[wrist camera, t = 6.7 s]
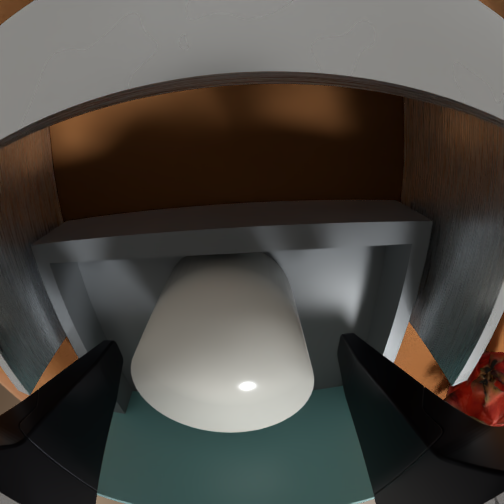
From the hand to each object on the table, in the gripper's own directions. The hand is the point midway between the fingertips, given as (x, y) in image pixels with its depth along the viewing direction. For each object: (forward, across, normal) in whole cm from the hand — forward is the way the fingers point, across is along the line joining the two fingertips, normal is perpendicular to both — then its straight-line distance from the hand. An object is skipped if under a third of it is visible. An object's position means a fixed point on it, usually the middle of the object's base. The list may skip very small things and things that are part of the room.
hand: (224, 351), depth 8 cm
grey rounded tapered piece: (+3, 0, 0) cm, 3 cm away
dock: (+4, 0, -5) cm, 6 cm away
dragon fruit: (+4, -20, +11) cm, 23 cm away
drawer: (+4, 0, +1) cm, 4 cm away
